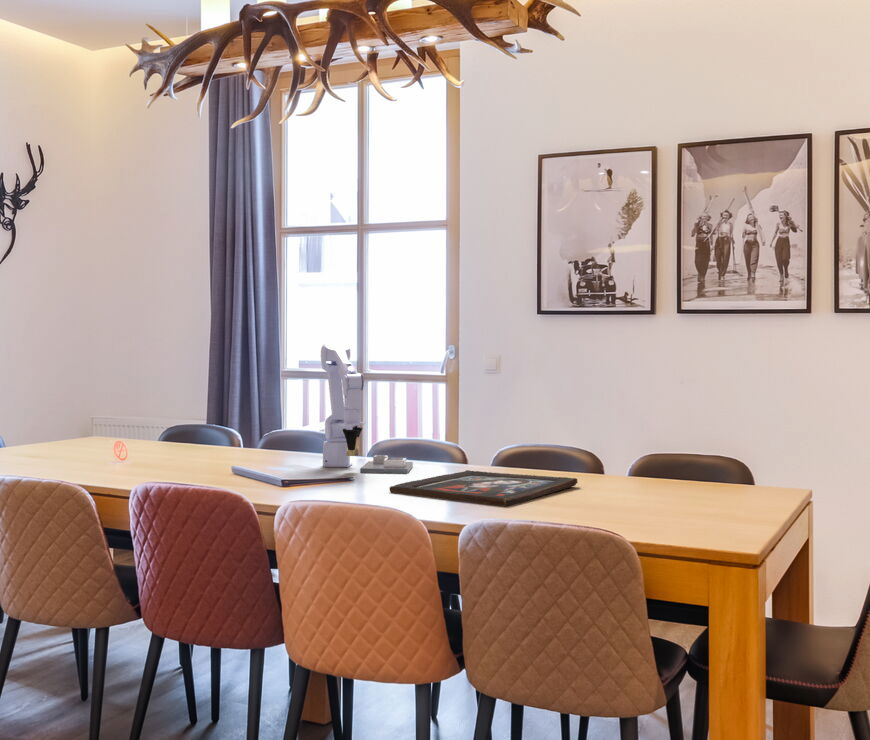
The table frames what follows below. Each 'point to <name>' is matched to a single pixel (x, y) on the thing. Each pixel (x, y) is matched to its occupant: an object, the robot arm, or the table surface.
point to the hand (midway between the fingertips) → (352, 449)
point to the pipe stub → (353, 452)
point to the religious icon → (484, 487)
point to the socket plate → (386, 465)
